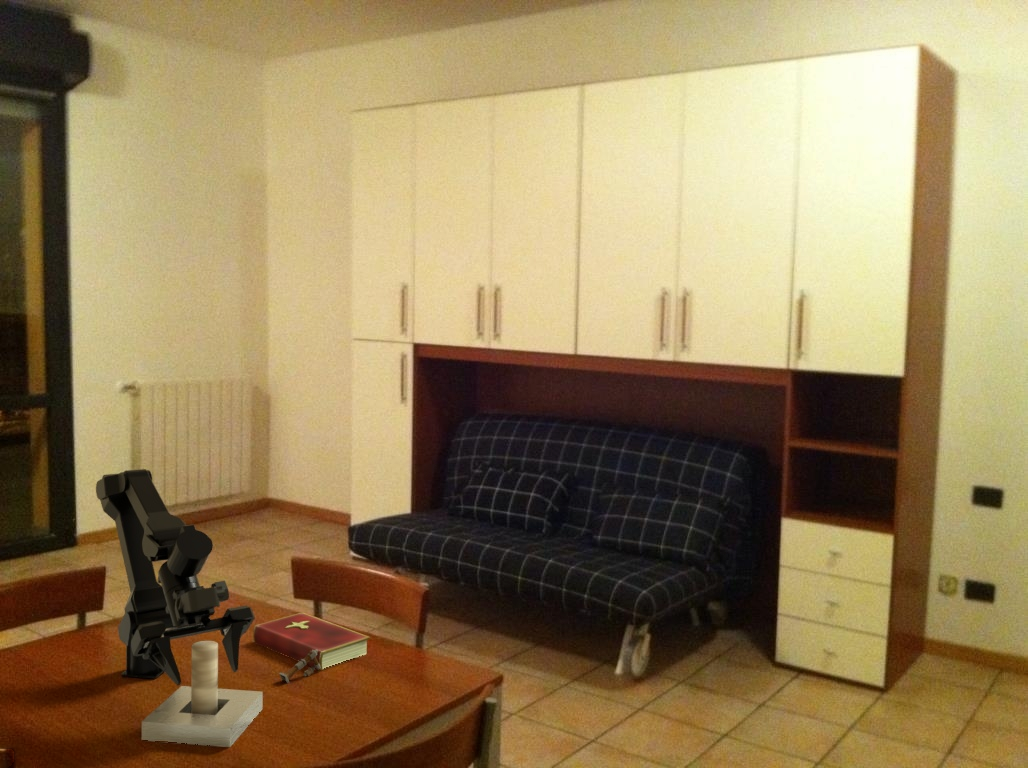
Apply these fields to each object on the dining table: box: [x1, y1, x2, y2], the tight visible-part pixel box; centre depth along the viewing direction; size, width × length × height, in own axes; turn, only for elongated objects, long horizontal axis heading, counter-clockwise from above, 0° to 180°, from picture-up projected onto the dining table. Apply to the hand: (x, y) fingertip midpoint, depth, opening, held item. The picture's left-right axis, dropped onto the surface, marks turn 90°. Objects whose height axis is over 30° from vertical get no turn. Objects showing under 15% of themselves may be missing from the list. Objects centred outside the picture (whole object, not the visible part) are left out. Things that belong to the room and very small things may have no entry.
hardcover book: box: [252, 612, 371, 671], centre depth 188 cm, size 12×21×4 cm, turn 50°
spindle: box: [190, 640, 219, 715], centre depth 152 cm, size 4×4×13 cm
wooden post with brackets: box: [278, 649, 321, 684], centre depth 173 cm, size 2×8×4 cm, turn 136°
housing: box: [141, 685, 264, 748], centre depth 153 cm, size 14×14×3 cm
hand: (208, 677), depth 151 cm, fingers open, 9 cm apart
